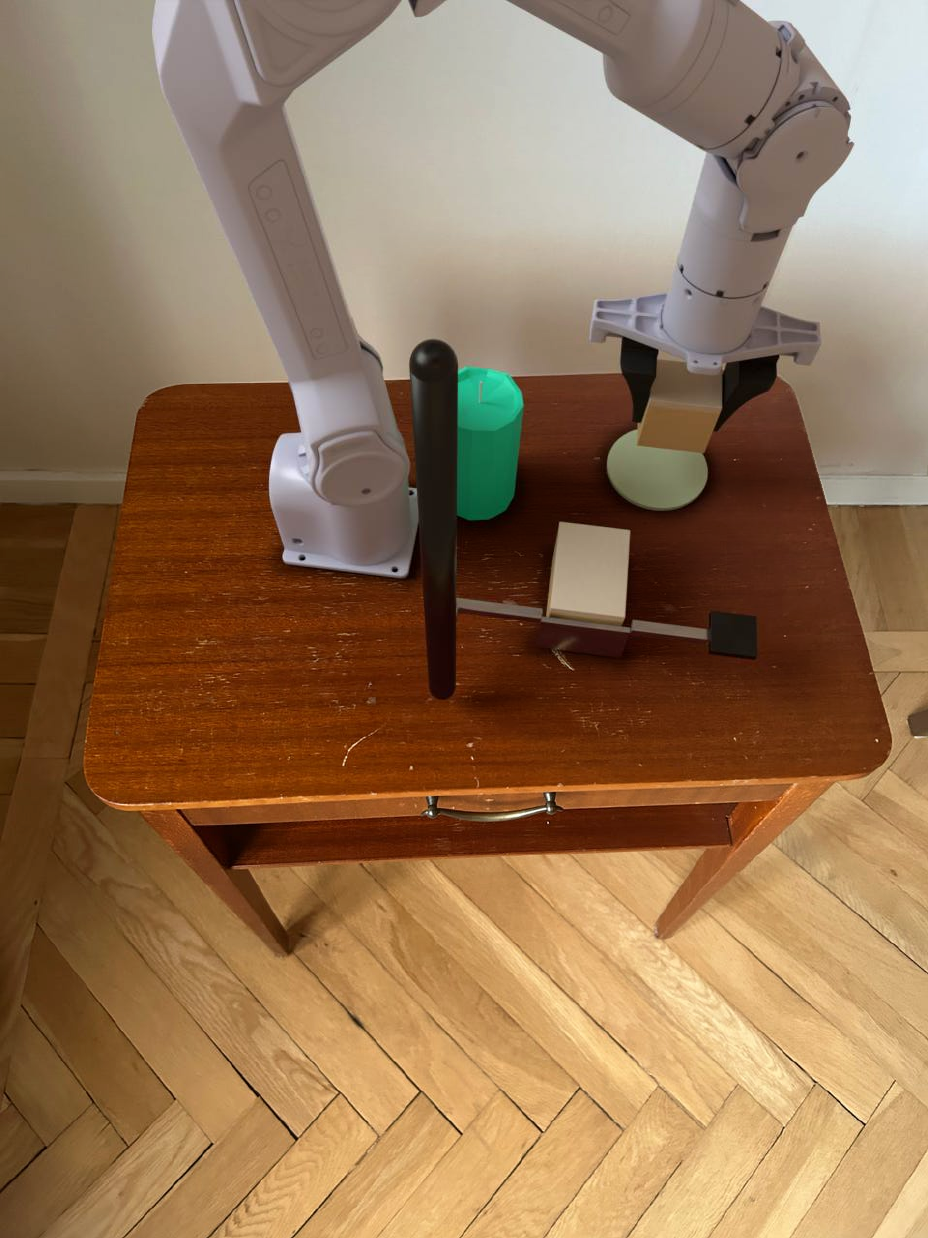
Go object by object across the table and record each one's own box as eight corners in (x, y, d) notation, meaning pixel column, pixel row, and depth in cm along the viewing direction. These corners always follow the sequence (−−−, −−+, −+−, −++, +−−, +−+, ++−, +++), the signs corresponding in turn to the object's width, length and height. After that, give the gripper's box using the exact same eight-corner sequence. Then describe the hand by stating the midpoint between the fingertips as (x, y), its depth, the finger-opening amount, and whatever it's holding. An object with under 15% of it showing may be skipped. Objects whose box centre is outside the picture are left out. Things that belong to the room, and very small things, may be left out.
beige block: (636, 445, 65) (649, 399, 60) (638, 405, 67) (651, 357, 62) (704, 453, 65) (722, 407, 60) (704, 413, 66) (722, 365, 62)
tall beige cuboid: (543, 640, 63) (550, 607, 58) (552, 558, 66) (559, 521, 62) (613, 649, 63) (625, 617, 58) (618, 566, 66) (630, 529, 61)
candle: (507, 526, 67) (517, 423, 57) (431, 513, 68) (427, 408, 57) (520, 465, 70) (532, 356, 59) (447, 453, 71) (446, 342, 60)
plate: (603, 504, 68) (604, 501, 68) (609, 425, 72) (610, 421, 72) (706, 516, 68) (707, 513, 68) (707, 436, 72) (708, 433, 71)
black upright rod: (427, 708, 60) (404, 362, 31) (443, 614, 64) (435, 222, 34) (734, 749, 59) (1008, 430, 30) (733, 651, 62) (979, 278, 33)
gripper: (599, 299, 51) (571, 447, 63) (852, 326, 50) (775, 471, 62) (607, 218, 54) (579, 374, 66) (844, 242, 53) (773, 395, 65)
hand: (674, 416), depth 64 cm, fingers closed on beige block, 5 cm apart
